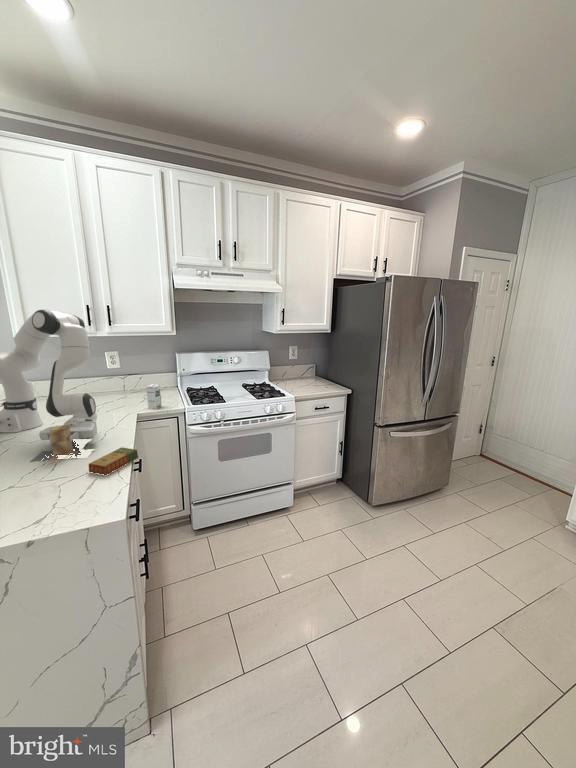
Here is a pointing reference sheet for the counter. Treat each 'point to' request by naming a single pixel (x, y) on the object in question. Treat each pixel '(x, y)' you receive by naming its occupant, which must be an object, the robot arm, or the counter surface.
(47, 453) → the t mat
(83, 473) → the counter surface
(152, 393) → the syrup box
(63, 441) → the oak block
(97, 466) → the carton
